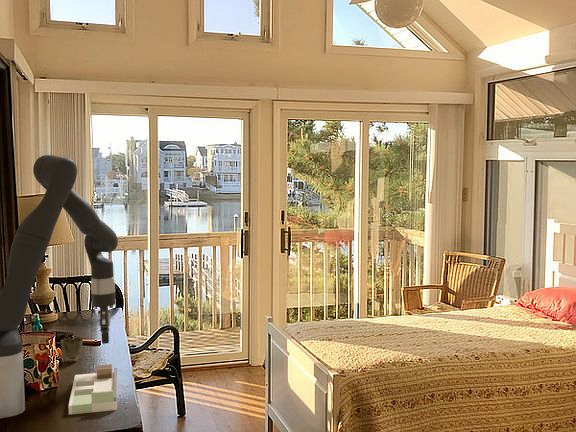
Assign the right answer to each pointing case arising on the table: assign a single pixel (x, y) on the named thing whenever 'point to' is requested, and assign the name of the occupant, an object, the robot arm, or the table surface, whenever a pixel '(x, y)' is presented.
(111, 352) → the table surface
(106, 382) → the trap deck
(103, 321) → the robot arm
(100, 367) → the walnut block
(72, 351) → the cup
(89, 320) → the table surface
